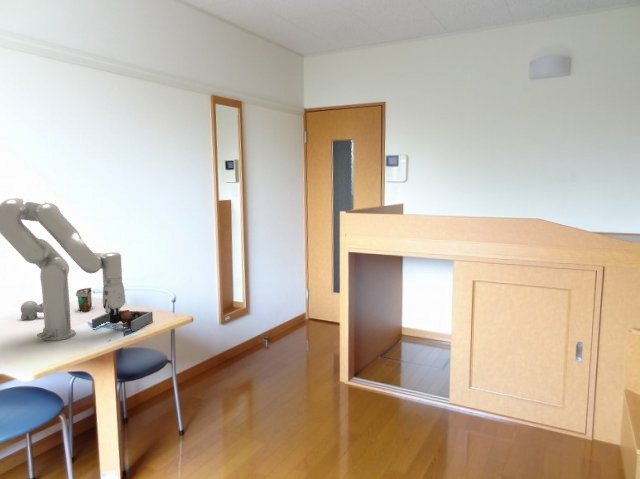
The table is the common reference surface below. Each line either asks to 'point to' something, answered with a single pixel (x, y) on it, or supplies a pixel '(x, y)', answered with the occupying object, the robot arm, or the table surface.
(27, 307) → the chubby cartoon animal
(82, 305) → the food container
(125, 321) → the pottery mug
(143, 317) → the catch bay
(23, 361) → the table surface
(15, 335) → the table surface
